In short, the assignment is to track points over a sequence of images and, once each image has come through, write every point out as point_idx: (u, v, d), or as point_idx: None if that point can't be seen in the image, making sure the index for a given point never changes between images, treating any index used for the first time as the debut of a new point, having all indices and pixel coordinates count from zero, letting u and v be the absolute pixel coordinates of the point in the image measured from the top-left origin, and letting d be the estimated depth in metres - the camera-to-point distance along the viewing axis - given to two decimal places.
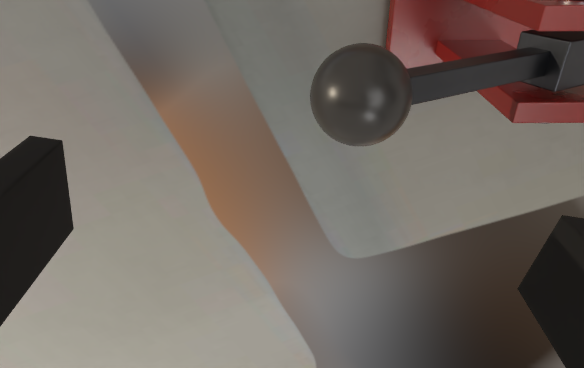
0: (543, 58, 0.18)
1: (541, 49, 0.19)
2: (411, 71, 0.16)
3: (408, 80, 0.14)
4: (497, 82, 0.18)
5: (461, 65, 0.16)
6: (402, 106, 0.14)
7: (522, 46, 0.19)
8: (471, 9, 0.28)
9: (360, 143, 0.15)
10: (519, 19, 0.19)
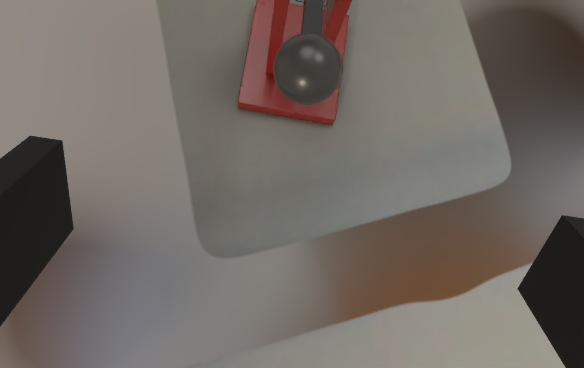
0: None
1: None
2: None
3: None
4: (320, 2, 0.26)
5: (302, 19, 0.25)
6: (313, 34, 0.21)
7: None
8: None
9: (337, 62, 0.21)
10: None
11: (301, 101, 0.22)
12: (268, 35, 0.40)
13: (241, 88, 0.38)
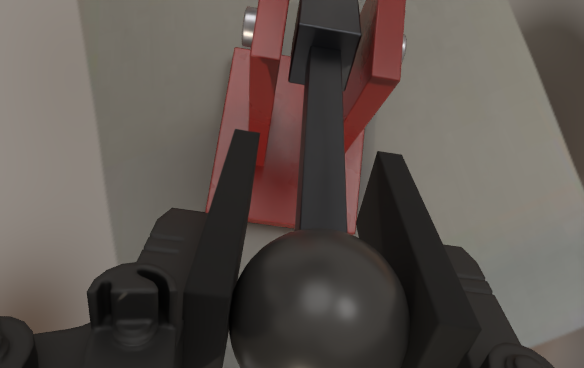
0: (317, 52, 0.14)
1: (308, 56, 0.15)
2: (296, 223, 0.10)
3: (293, 236, 0.08)
4: (337, 102, 0.13)
5: (302, 151, 0.11)
6: (333, 251, 0.08)
7: (305, 79, 0.16)
8: (284, 139, 0.26)
9: (400, 335, 0.07)
10: (271, 84, 0.15)
11: None
12: None
13: (211, 190, 0.25)
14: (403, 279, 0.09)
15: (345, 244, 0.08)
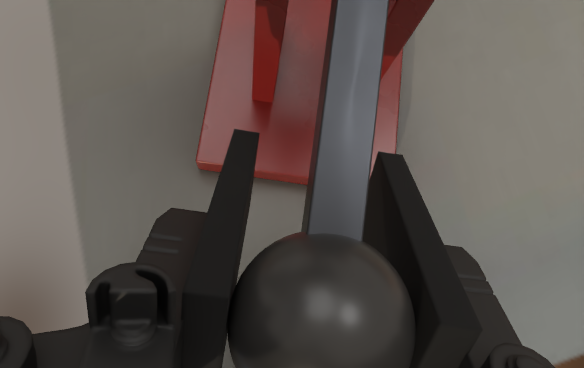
0: None
1: None
2: (307, 202, 0.09)
3: (294, 272, 0.07)
4: (381, 3, 0.09)
5: (323, 92, 0.09)
6: (336, 311, 0.07)
7: None
8: (299, 69, 0.20)
9: None
10: None
11: None
12: None
13: (203, 132, 0.19)
14: (404, 280, 0.09)
15: (352, 297, 0.07)
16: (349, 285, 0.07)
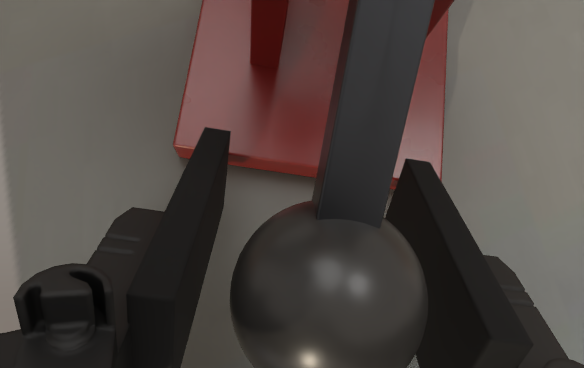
0: None
1: None
2: (319, 173, 0.07)
3: (297, 279, 0.06)
4: None
5: (348, 35, 0.06)
6: (340, 329, 0.06)
7: None
8: (313, 24, 0.15)
9: None
10: None
11: None
12: None
13: (184, 107, 0.14)
14: (443, 291, 0.09)
15: (360, 314, 0.06)
16: (358, 300, 0.06)
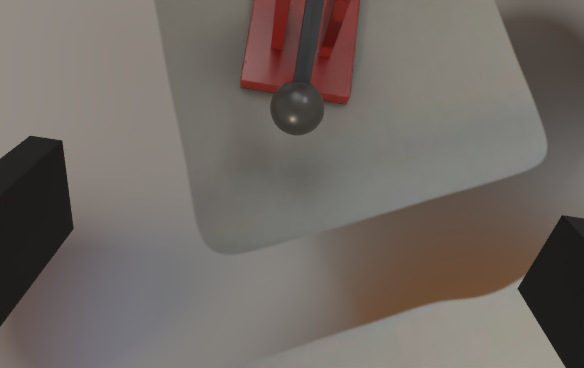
0: None
1: None
2: (294, 71, 0.28)
3: (288, 93, 0.27)
4: (321, 3, 0.26)
5: (300, 35, 0.27)
6: (298, 103, 0.26)
7: None
8: (297, 31, 0.35)
9: (315, 123, 0.27)
10: None
11: None
12: (273, 6, 0.36)
13: (244, 64, 0.34)
14: None
15: (302, 100, 0.26)
16: (302, 96, 0.26)
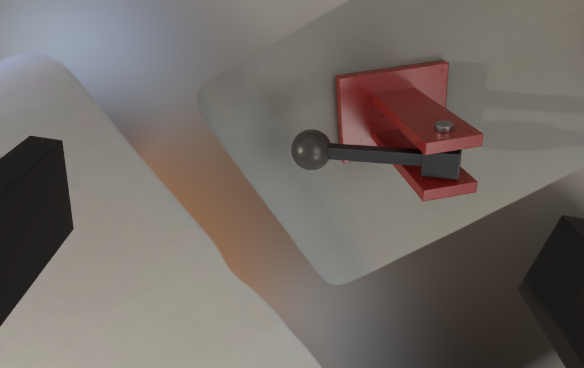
0: (417, 156, 0.34)
1: None
2: (335, 145, 0.37)
3: (316, 148, 0.36)
4: (384, 161, 0.35)
5: (360, 148, 0.35)
6: (309, 157, 0.36)
7: None
8: None
9: None
10: (416, 144, 0.32)
11: None
12: (410, 85, 0.42)
13: (352, 78, 0.40)
14: None
15: (312, 160, 0.36)
16: (315, 159, 0.36)
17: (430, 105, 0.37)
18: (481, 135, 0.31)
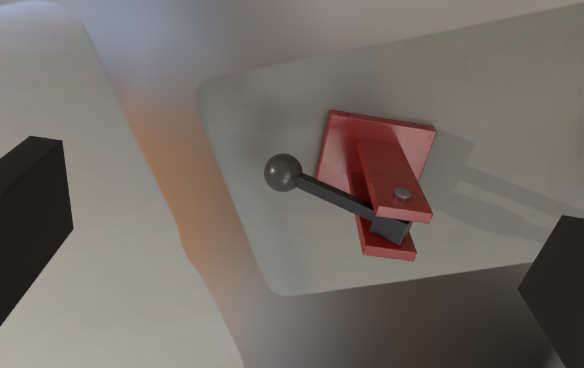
0: (371, 212, 0.36)
1: None
2: (305, 176, 0.39)
3: (285, 174, 0.38)
4: (342, 206, 0.37)
5: (325, 187, 0.38)
6: (277, 180, 0.38)
7: None
8: None
9: (269, 185, 0.40)
10: (372, 202, 0.35)
11: None
12: (396, 140, 0.43)
13: (344, 117, 0.42)
14: None
15: (280, 183, 0.38)
16: (282, 183, 0.38)
17: (403, 167, 0.39)
18: (431, 214, 0.33)
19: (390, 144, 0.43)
